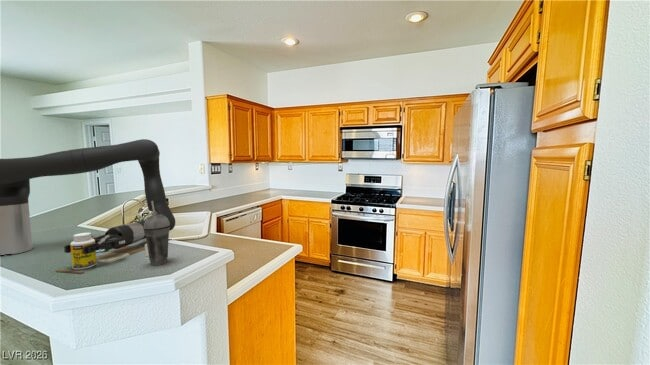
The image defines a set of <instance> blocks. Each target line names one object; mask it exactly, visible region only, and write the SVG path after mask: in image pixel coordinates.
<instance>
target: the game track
mask: <svg viewBox="0 0 650 365" xmlns="http://www.w3.org/2000/svg"><path fill="white" fill-rule="evenodd" d="M141 251H145V246H137V245H136V246H135V245H134V246H133V245H127V246H125V247H122V248H119V249H111V250H108V251H106V252H104V253H100V254H96V263H107V264H111V263H113V262H115V261H119V260H121V259H123V258H127V257H129V256H130V255H133V254H136V253H139V252H141ZM55 273H64V274H65V273H67V274H78V275H82V274H85V271H84V270H74V269H61V268H58V269H56V270H55Z"/></svg>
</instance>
